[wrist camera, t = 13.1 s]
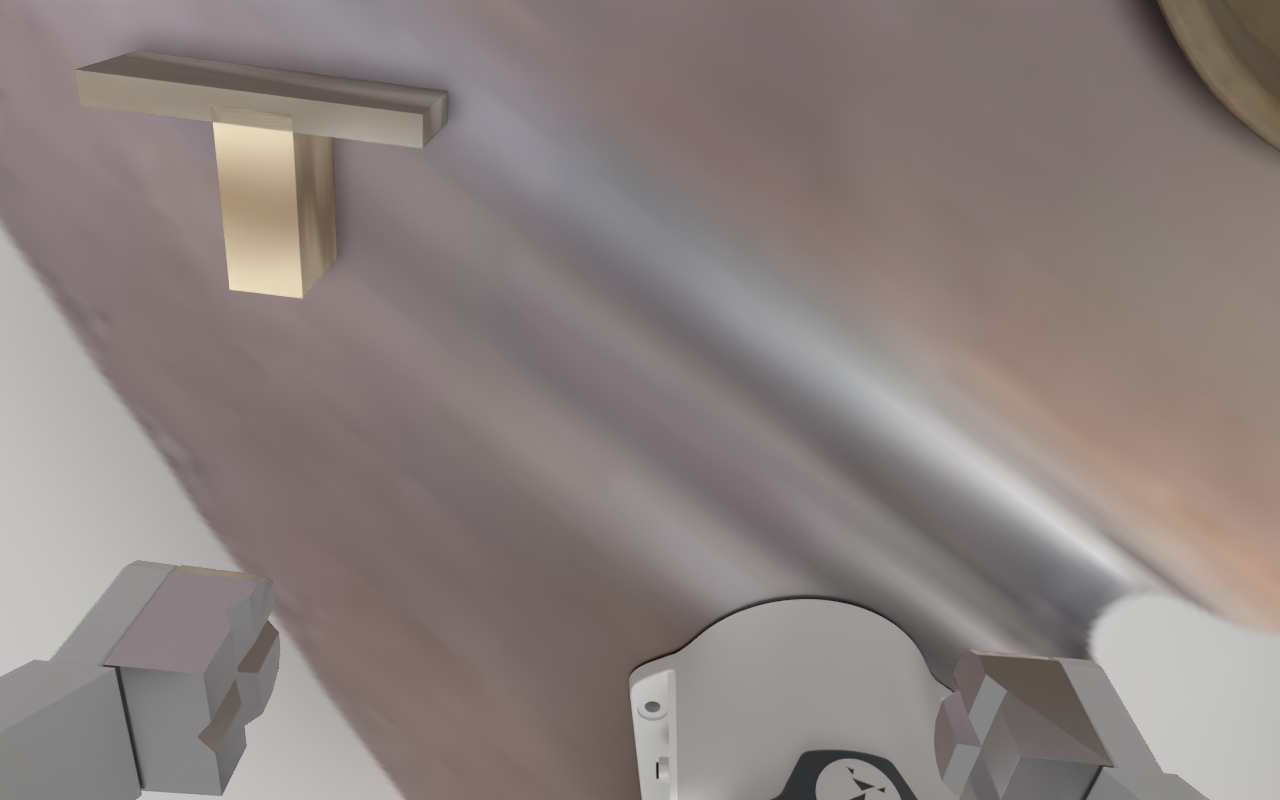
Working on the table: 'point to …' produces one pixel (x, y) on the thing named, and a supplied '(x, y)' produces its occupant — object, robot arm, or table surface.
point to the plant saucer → (1234, 56)
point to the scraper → (270, 148)
